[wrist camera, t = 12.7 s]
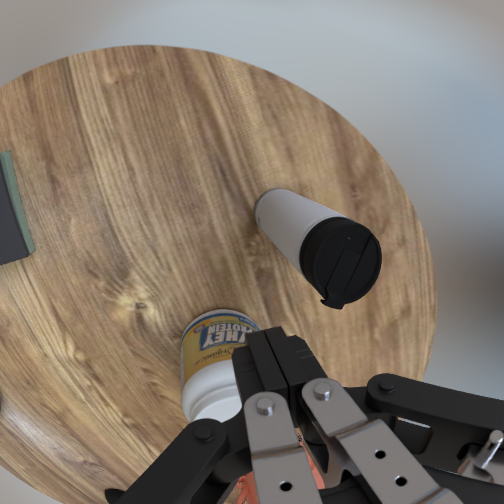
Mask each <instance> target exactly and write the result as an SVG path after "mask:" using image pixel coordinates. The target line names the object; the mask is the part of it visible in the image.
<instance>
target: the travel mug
mask: <svg viewBox="0 0 504 504" xmlns="http://www.w3.org/2000/svg"><path fill="white" fill-rule="evenodd" d="M254 218H255V221H256V223H257V225H258V227H259V228H260V229H261V230H262V232H263V233H264V234H265V235H266V236H267V237H268V238H269V239H270V240H271V241H272V243H273V244H274V245H275V246H276V247H277V248H278V249H279V250H280V251H281V252H282V254H283V255H284V256H285V257H286V258H287V259H288V260H289V261H290V262H291V264H292V265H293V266H294V267H295V268H296V269H297V270H298V271H299V273H300V274H301V275H302V276H303V277H304V278H305V279H306V280H307V281H308V282H309V283H310V284H311V285H312V286H313V287H314V288H315V289H316V290H317V291H318V292H319V294H320V295H321V296H322V297H323V298H324V299H325V300H322V299H321V300H320V301H321V302H322V304H324V305H325V306H328V307H331V308H334V309H340V310H341V309H342V308H343V306H344V304H348V303H352V302H354V301H357V300H359V299H360V298H362V297H363V296H364V295H365V294H366V293H367V292H368V291H369V290H370V289H371V288H372V286H373V285H374V284H375V282H376V280H377V278H378V275H379V272H380V269H381V263H382V253H381V247H380V244H379V241H378V240H377V239H376V237H375V236H374V235H373V234H372V233H371V232H370V230H369V229H368V228H366V227H365V226H363V225H361V224H359V223H357V222H355V221H354V220H352V219H350V218H348V217H346V216H344V215H342V214H340V213H338V212H336V211H333V210H331V209H329V208H327V207H325V206H323V205H320V204H318V203H316V202H314V201H312V200H309V199H307V198H305V197H303V196H300V195H298V194H296V193H294V192H291V191H289V190H286V189H282V188H275V189H271V190H269V191H267V192H265V193H264V194H263V195H262V196H261V197H260V198H259V199H258V201H257V203H256V205H255V209H254Z"/></svg>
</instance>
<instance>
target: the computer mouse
mask: <svg viewBox="0 0 504 504" xmlns="http://www.w3.org/2000/svg"><path fill="white" fill-rule="evenodd" d="M123 493H124V492H123V491H121V490H117V489H109V490H106V491H105V497H106V500H107V502H108V503H109V504H113V503H114V502H115V501H116V500H117V499H118V498H119V497H120V496H121V495H122V494H123Z"/></svg>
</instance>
